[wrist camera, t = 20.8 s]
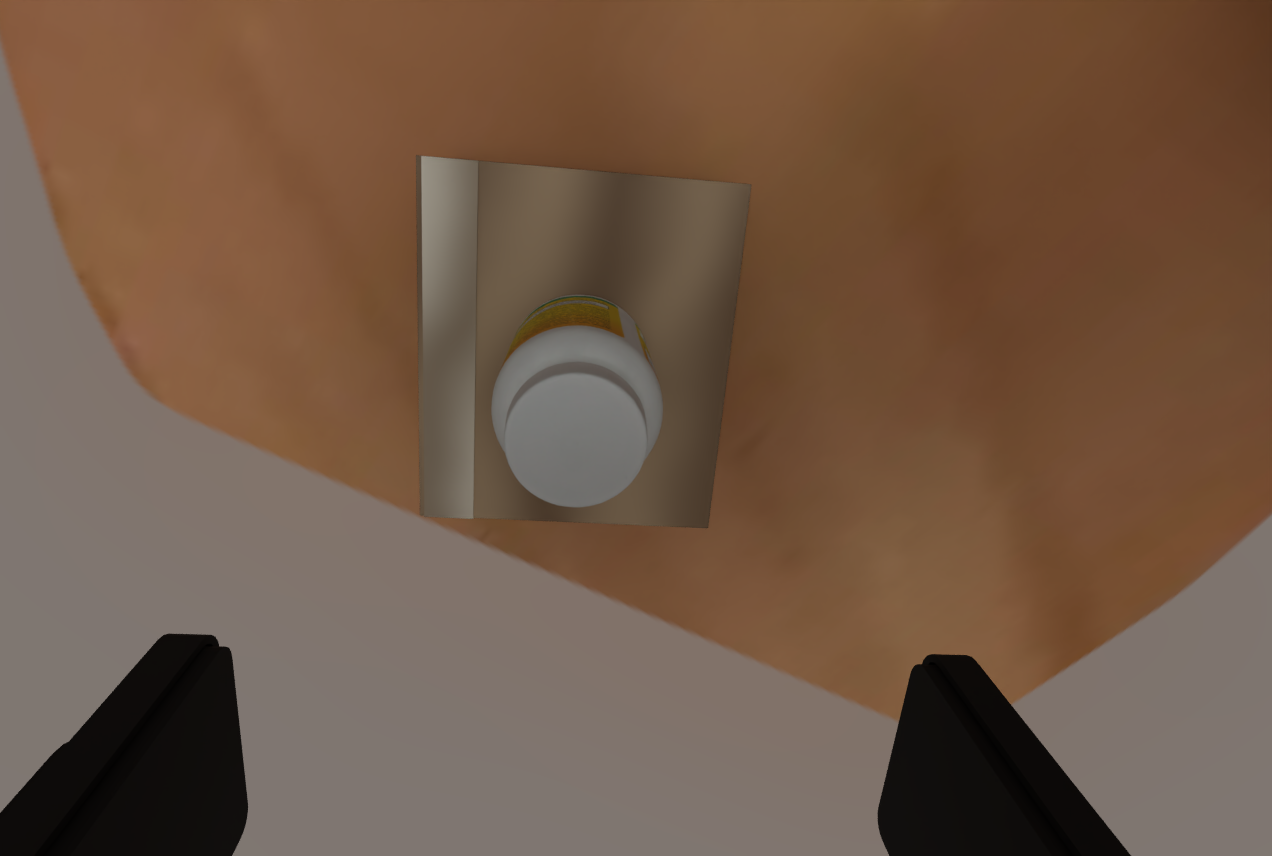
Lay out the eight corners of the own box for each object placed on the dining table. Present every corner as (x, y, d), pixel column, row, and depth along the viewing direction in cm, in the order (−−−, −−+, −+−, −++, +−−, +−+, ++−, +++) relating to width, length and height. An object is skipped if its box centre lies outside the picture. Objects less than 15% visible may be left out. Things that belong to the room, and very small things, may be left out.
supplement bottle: (674, 356, 30) (714, 439, 21) (582, 448, 31) (583, 566, 22) (574, 261, 29) (571, 307, 20) (481, 362, 30) (438, 450, 21)
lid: (748, 184, 29) (751, 184, 28) (706, 523, 33) (708, 529, 33) (418, 155, 28) (415, 155, 27) (422, 510, 32) (419, 516, 32)
